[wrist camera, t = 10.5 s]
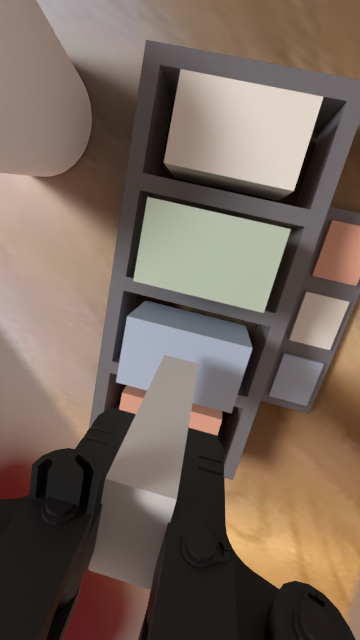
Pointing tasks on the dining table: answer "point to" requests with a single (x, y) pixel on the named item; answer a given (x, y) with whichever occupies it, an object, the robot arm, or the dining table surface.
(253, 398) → the keypad
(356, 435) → the dining table surface
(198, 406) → the key terracotta
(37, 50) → the cup
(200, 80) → the key ivory
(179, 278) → the key sage
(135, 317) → the key slate
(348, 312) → the strip
